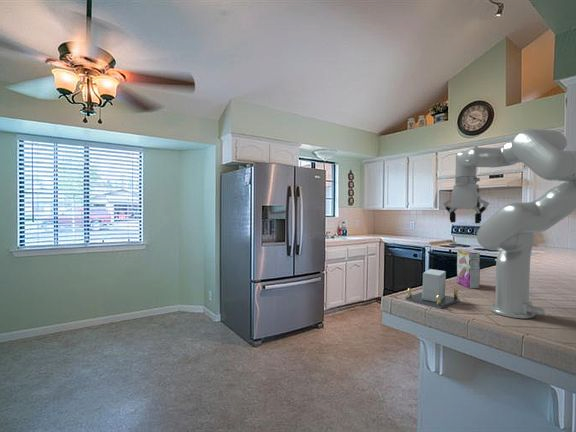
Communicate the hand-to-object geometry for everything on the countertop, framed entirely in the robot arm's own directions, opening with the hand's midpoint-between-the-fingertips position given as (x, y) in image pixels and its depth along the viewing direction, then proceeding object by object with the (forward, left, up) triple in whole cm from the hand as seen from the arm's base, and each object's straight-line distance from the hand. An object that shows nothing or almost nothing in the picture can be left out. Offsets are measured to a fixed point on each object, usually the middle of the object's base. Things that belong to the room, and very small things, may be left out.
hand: (464, 222), depth 130 cm
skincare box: (+3, +18, -30) cm, 35 cm away
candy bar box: (+6, -18, -31) cm, 36 cm away
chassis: (+4, +18, -30) cm, 35 cm away
